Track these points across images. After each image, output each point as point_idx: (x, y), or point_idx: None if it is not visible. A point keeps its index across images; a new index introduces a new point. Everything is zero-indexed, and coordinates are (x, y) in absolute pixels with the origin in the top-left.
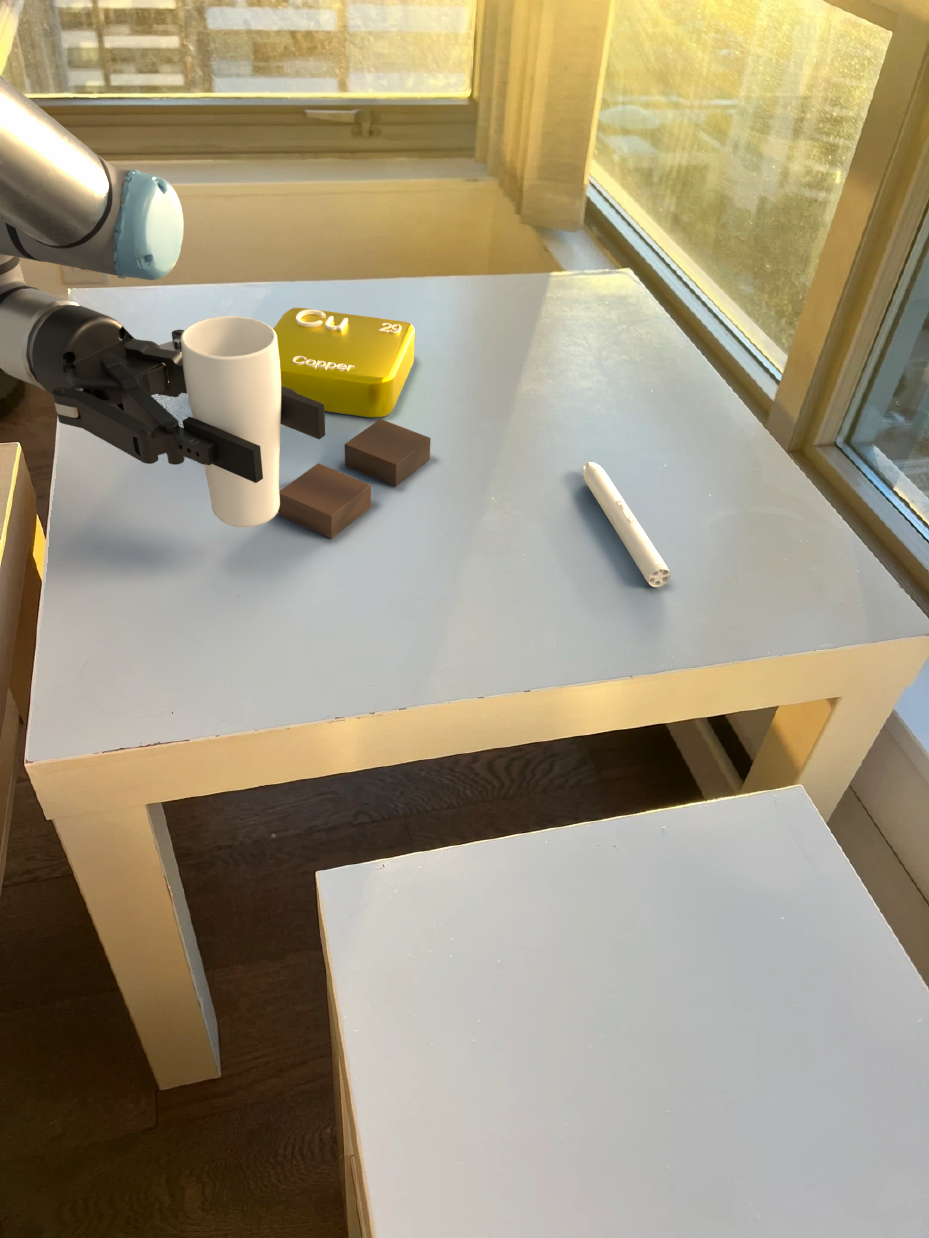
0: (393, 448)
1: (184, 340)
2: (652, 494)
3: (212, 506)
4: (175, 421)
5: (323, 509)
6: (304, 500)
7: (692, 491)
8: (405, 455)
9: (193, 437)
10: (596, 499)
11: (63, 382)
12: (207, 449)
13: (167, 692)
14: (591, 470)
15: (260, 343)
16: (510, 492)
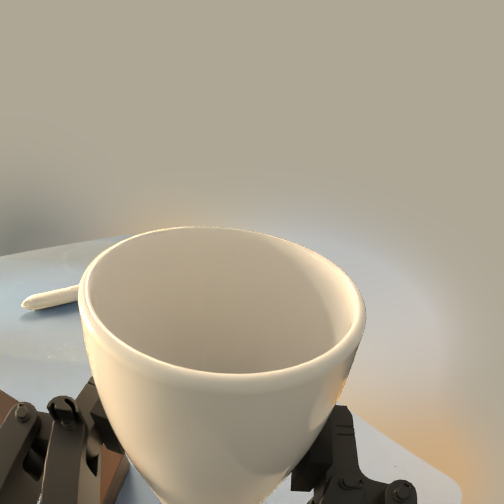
0: (1, 408)
1: (339, 342)
2: (48, 287)
3: None
4: (338, 477)
5: (114, 461)
6: (104, 482)
7: (46, 275)
8: (12, 399)
9: (337, 440)
10: (55, 304)
11: None
12: (345, 406)
13: (386, 482)
14: (35, 298)
15: (112, 307)
16: (41, 347)
